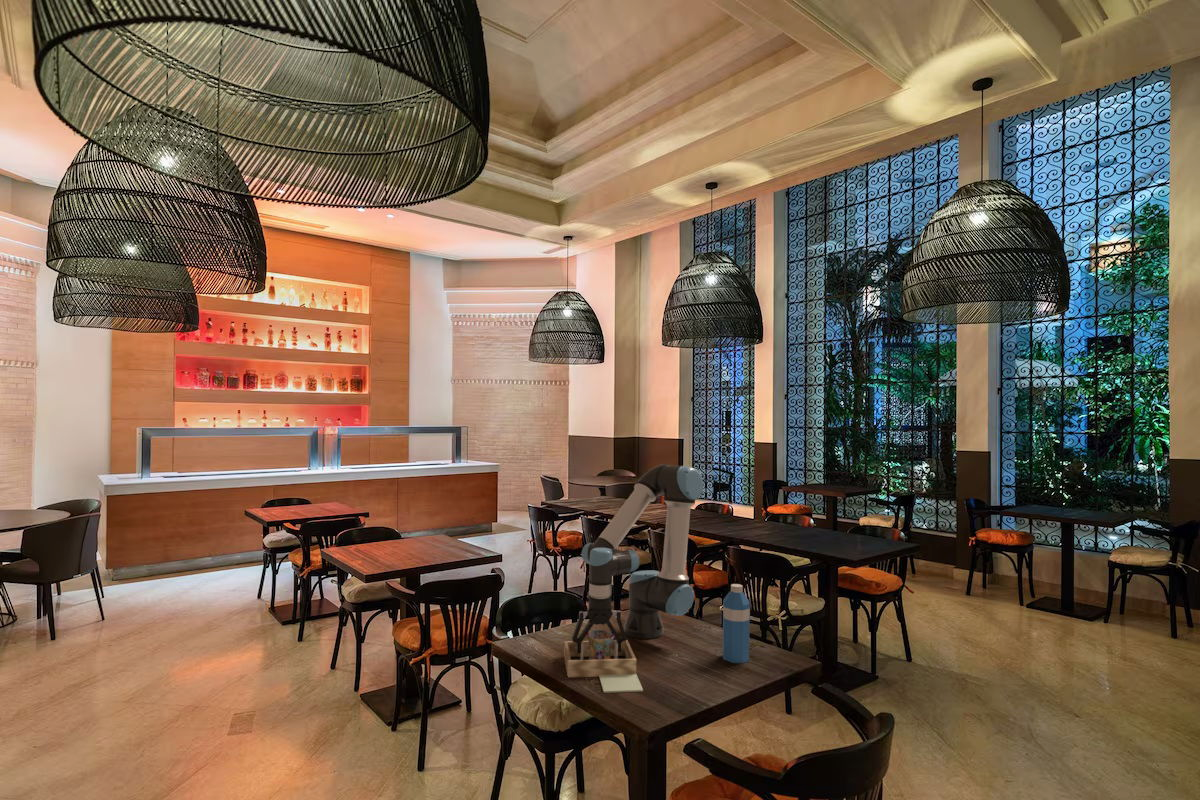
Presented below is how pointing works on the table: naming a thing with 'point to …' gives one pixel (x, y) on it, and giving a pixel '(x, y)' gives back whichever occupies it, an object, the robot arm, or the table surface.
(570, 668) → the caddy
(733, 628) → the water bottle
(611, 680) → the mat
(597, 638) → the mug
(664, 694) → the table surface
